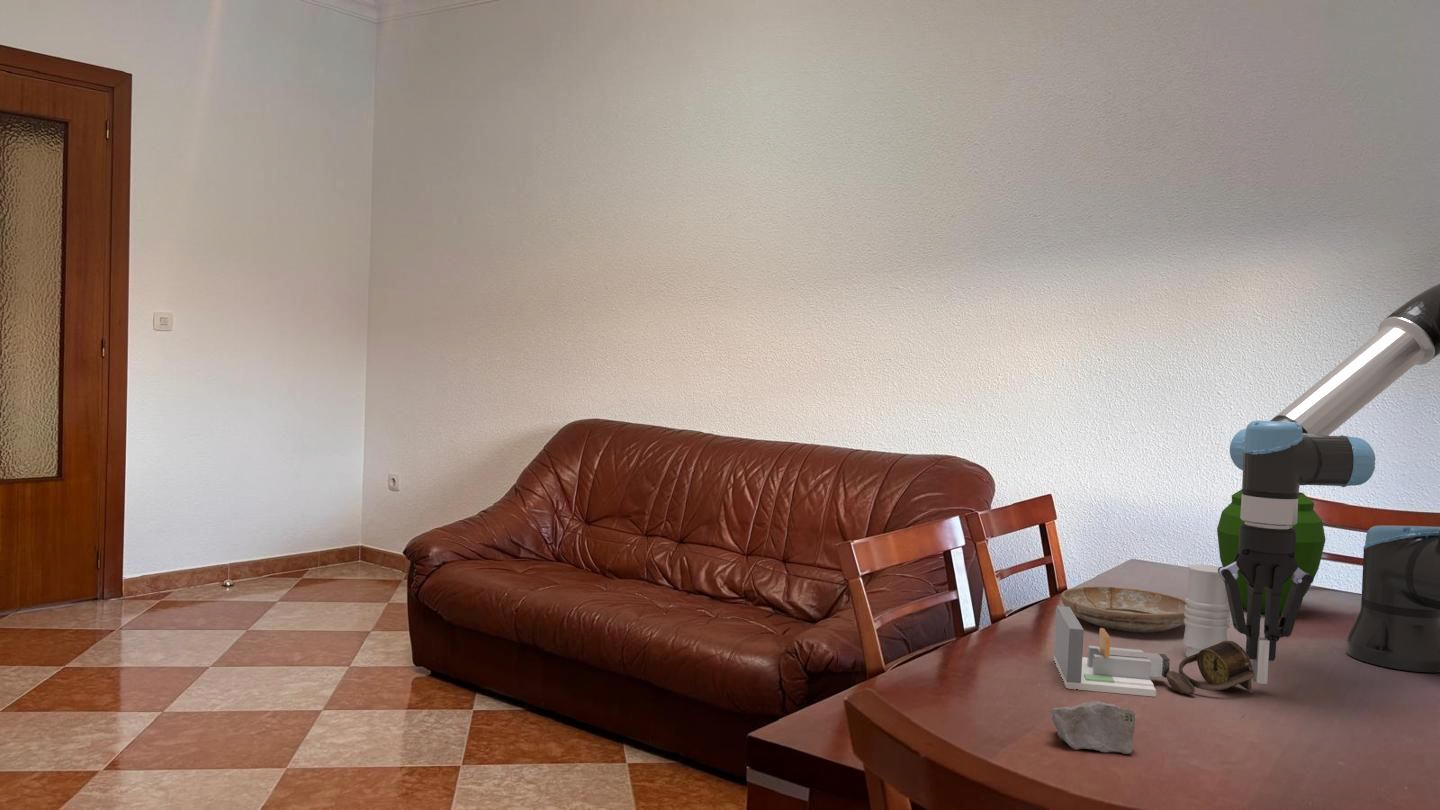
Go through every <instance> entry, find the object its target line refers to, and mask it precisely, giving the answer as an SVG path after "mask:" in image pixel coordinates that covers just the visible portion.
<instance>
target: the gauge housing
mask: <svg viewBox="0 0 1440 810" xmlns="http://www.w3.org/2000/svg"><path fill="white" fill-rule="evenodd" d="M1055 613H1056V615H1055V629H1054V631H1055V634H1054V650H1053V652H1054V653H1053V662H1054V661H1055V662H1054V664H1055V663H1056V664H1055V666H1056V669H1057V668H1058V669H1057V671H1058V670H1059V671H1058V673H1059V672H1060V673H1059V675H1060V674H1061V675H1060V677H1062V678H1061V680H1062V679H1063V680H1062V682H1063V681H1064V682H1063V684H1064V687H1065V688H1068V690H1076V689H1078V690H1077V691H1088V692H1097V693H1098V692H1100V693H1110V694H1121V695H1130V696H1131V695H1132V696H1142V697H1153V698H1156V697H1157V689H1156V688H1155V686H1154V683H1153V681H1152V680H1151V676H1150V673H1151V661H1150V660H1149V659H1143V658H1131V657H1119V656H1109V657H1105V656H1104V655H1097V649H1100V648H1099V645H1098V646H1096V645H1088V646H1087V657H1085V656H1083V652H1084V651H1083V650H1084V633H1085V632H1084V631H1085V630H1084V628H1083V626H1082V625H1081V623H1080V621H1079V620H1078V617H1077V616H1075V615H1074V613H1073V611H1072V610H1071V608H1070V607H1066V606H1064V605H1063V606H1062V605H1056V612H1055ZM1110 650H1121V651H1132V652H1144V651H1143V650H1142V649H1135V648H1120V647H1111V646H1110Z"/></svg>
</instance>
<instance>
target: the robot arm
mask: <svg viewBox="0 0 1440 810" xmlns="http://www.w3.org/2000/svg"><path fill="white" fill-rule="evenodd" d="M1377 332H1378V333H1376V334H1375V335H1373V336H1372V337H1371V338H1370V339H1368V340H1367V341H1366V342H1365V343H1364V344H1363V345H1361V346H1360V347H1359V348H1357V349H1356V350H1355V351H1354V352H1352V353H1351V354H1350V355H1349V356H1348V357H1346V358H1345V359H1344V360H1343V361H1342V362H1340V363H1339V364H1338V365H1337V366H1335V367H1334V368H1333V369H1332V370H1331V371H1329V372H1328V373H1327V374H1326V375H1325V376H1323V377H1322V378H1321V379H1320V380H1318V381H1317V382H1315V384H1314V385H1312V386H1311V387H1309V388H1308V389H1307V390H1306V391H1304V393H1302V394H1301V395H1300V396H1299V397H1298V398H1296V399H1295V400H1294V401H1292V402H1291V403H1290V404H1289V405H1288V406H1286V407H1285V408H1284V409H1283V410H1282V411H1281V412H1279V413H1278V414H1277V415H1275V416H1274V417H1273V418H1272V419H1271V420H1252V421H1251V422H1249V423H1248V424H1247V426H1246V428H1243V429H1240V430H1239V431H1238V432H1236V433H1235V434H1234V436H1233V437H1232V439H1231V442H1230V444H1229V455H1230V458H1231V459H1230V460H1232V463H1233V464H1234V465H1235V467H1236V468H1238V469H1239V470H1241V471H1242V484H1241V489H1242V500H1241V515H1240V518H1241V519H1242V520H1243V521H1245V523H1242V524H1241V525H1240V530H1239V550H1238V554H1237V555H1236V557H1235V559H1234V563H1232V564H1230V565H1228V566H1226V567H1223V566H1219V568H1218V573H1219V574H1220V576H1221V577H1222V579H1223V581H1224V582H1225V587H1226V592H1227V597H1228V602H1229V607H1230V618H1231V620H1232V625H1233V629H1234V630H1236V631H1237V632H1238V633H1239V634H1242V635H1245V636H1246V641H1245V643H1246V644H1245V645H1246V646H1245V652H1246V654H1247V655H1248V657H1249V659H1250V660H1251V664H1252V668H1253V671H1254V677H1253V678H1251V680H1253V681H1254V682H1255V683H1256V684H1261V685H1267V684H1268V676H1269V675H1268V673H1269V661H1271V662H1274V661H1275V660H1276V653H1277V642H1278V641H1279V640H1280V639H1281V638H1284V637H1285V638H1290V637H1291V635H1292V633H1293V630H1294V626H1295V623H1296V620H1297V617H1298V615H1299V611H1300V609H1301V606H1302V603H1303V600H1304V597H1305V596H1304V594H1305V591H1306V589H1307V588H1308V587H1309V586H1310V587H1311V585H1312V584H1313V582H1314V580H1315V577H1314V578H1313V576H1311V575H1309V574H1308V573H1306V572H1304V571H1302V570H1301V569H1299V568H1298V563H1297V561H1296V559H1295V547H1296V530H1295V529H1294V528H1292V526H1293V525H1295V524H1297V513H1298V498H1299V492H1300V486H1326V487H1327V486H1329V487H1330V486H1332V487H1341V488H1346V487H1349V486H1350V487H1351V486H1352V487H1353V486H1361V485H1363V484H1365V483H1367V482H1368V481H1369V480H1370V479H1371V478H1372V476H1373V474H1374V472H1375V470H1376V469H1375V468H1376V466H1375V465H1376V454H1375V451H1374V450H1373V448H1372V446H1371V444H1370V443H1369V442H1367V441H1366V440H1365V439H1363V438H1361V437H1357V436H1348V435H1343V434H1342V435H1331V434H1333V433H1334V432H1335V431H1336V430H1337V429H1338V428H1340V427H1341V426H1342V425H1343V424H1345V423H1346V422H1347V421H1349V419H1351V418H1352V417H1353V416H1355V414H1357V413H1358V412H1359V411H1360V410H1362V409H1363V408H1364V407H1365V406H1366V405H1367V404H1369V403H1370V402H1372V400H1374V399H1375V398H1376V397H1378V396H1379V395H1380V394H1382V392H1383V391H1385V390H1386V389H1387V388H1389V387H1390V386H1391V385H1392V384H1393V383H1394V382H1396V381H1397V380H1398V379H1399V378H1401V377H1402V376H1403V375H1404V374H1406V373H1407V372H1408V371H1409V370H1410V369H1412V368H1414V366H1416V365H1417V366H1419V365H1420V366H1421V365H1426V364H1428V363H1430V362H1431V361H1432V360H1433V359H1434V358H1436V357H1437V356H1439V355H1440V283H1438V284H1436V285H1434V286H1433V285H1432V287H1430V288H1428V289H1426V290H1424V291H1422V292H1421V293H1419V294H1417V295H1416V296H1414V297H1412V298H1411V299H1410V300H1408V301H1406V302H1405V303H1403V304H1402V305H1401V306H1399V307H1398V308H1397V309H1396V310H1394V311H1393V312H1392V313H1390V314H1389V315H1388V316H1387V317H1386V318H1384V319H1383V320H1381V322H1380V323H1379V325H1378V328H1377ZM1367 406H1368V405H1367ZM1238 570H1239V571H1240V572H1241V574H1242V575H1243V577H1244V578H1245V580H1246V581H1247V588H1248V601H1247V609H1246V617H1245V614H1244V610H1243V608H1244V607H1243V606H1242V603H1241V598H1240V593H1239V589H1238V584H1237V582H1236V580H1235V579H1237V578H1238V574H1237V572H1238ZM1292 574H1293V577H1292V581H1293V583H1292V585H1291V587H1290V590H1289V593H1288V596H1287V599H1286V602H1285V605H1284V608H1283V612H1282V615H1279V609H1280V595H1281V594H1282V585H1283V584H1284V583H1285V582H1286V581H1287V580H1288V579H1289V578H1290V577H1291V576H1292ZM1361 578H1362V581H1361V603H1360V610H1359V613H1358V615H1357V617H1356V619H1355V621H1354V622H1353V623H1354V624H1353V626H1352V628H1351V630H1350V632H1349V634H1348V636H1347V638H1346V648H1345V649H1346V650H1345V651H1346V652H1345V653H1346V654H1347V655H1349V656H1350V657H1352V658H1354V659H1355V660H1358V661H1362V662H1365V663H1367V664H1371V665H1374V666H1375V665H1376V666H1380V667H1384V668H1388V669H1395V670H1401V671H1407V672H1419V673H1440V526H1425V525H1374V526H1373V525H1372V526H1371V527H1370V528H1369V529H1368V530H1367V531H1366V535H1365V541H1364V546H1363V560H1362V577H1361ZM1263 587H1265V589H1266V604H1265V614H1264V624H1263V634H1264V635H1263V636H1262V635H1260V634H1261V633H1260V631H1261V619H1262V618H1261V615H1262V613H1261V600H1262V594H1263ZM1310 587H1309V588H1310ZM1305 595H1306V594H1305Z"/></svg>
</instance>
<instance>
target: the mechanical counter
mask: <svg viewBox="0 0 1440 810" xmlns="http://www.w3.org/2000/svg"><path fill="white" fill-rule="evenodd" d="M1196 661H1197V666H1198V669H1199V673H1200V674H1201V676H1202V678H1203V679H1204V681H1205V682H1201V681H1198V680H1197V679H1193V678H1191V677H1190V676H1188V674H1186V673H1185V672H1184V670H1183V669H1184V668H1185V666H1186V665H1187V664H1191V663H1195V662H1196ZM1253 677H1254V671H1253V668H1252V660H1251V659H1249V657H1248V655H1247V654H1246V650H1245V649H1243V647H1241V645H1239V644H1238V643H1236V642H1235V641H1231V640H1229V639H1227V641H1223V642H1220V643H1218V644H1216V645H1213V646H1211V647H1208V648H1205V649H1203V650H1201V651H1200V652H1199V653H1197V654H1194V655H1192V656H1189V657H1187V656H1186V657H1185V658H1183V659H1182V660H1181V661H1180V663H1179V665H1178V671H1174V670H1169V672H1168V673H1167V676H1166V680H1167V682H1168V684H1169V685H1170V687H1171V688H1172V690H1174V691H1176V692H1179V693H1181V694H1184V695H1185V694H1186V695H1192V694H1194V693H1195V692H1196V688H1197V689H1200V690H1206V691H1224V690H1228V689H1231V688H1232V687H1235V686H1237V685H1240V687H1242V688H1244V689H1245V690H1247V691H1251V690H1252V678H1253Z"/></svg>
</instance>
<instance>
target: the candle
mask: <svg viewBox="0 0 1440 810" xmlns="http://www.w3.org/2000/svg"><path fill="white" fill-rule="evenodd" d="M1219 567H1220V566H1219V565H1212V564H1198V563H1197V564H1188V565H1187V567H1186V568H1187V570H1188V583H1187V597H1185V598H1184V600H1185V602H1186V603H1187V604H1186V605H1185V609H1186V610H1187V611H1185V613H1184V616H1185V617H1186V618H1185V619H1184V624H1185V628H1184V634H1183V641H1182V643H1183V645H1185V646H1187V647H1188V649H1187V650H1186V652H1185V654H1184V655H1185V656H1186V658H1187V657H1189V656H1192V655H1194V654H1197V653H1199V652H1200V651H1201V650H1203V649H1205V648H1208V647H1211V646H1213V645H1216V644H1218V643H1220V642H1223V641H1227V640H1228V633H1227V632H1228V631H1227V630H1228V629H1230V622H1231V621H1230V618H1231V612H1230V607H1229V602H1228V597H1227V592H1226V587H1225V582H1224V581H1223V579H1222V577H1221V576H1220V574H1219V573H1218V568H1219Z"/></svg>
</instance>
